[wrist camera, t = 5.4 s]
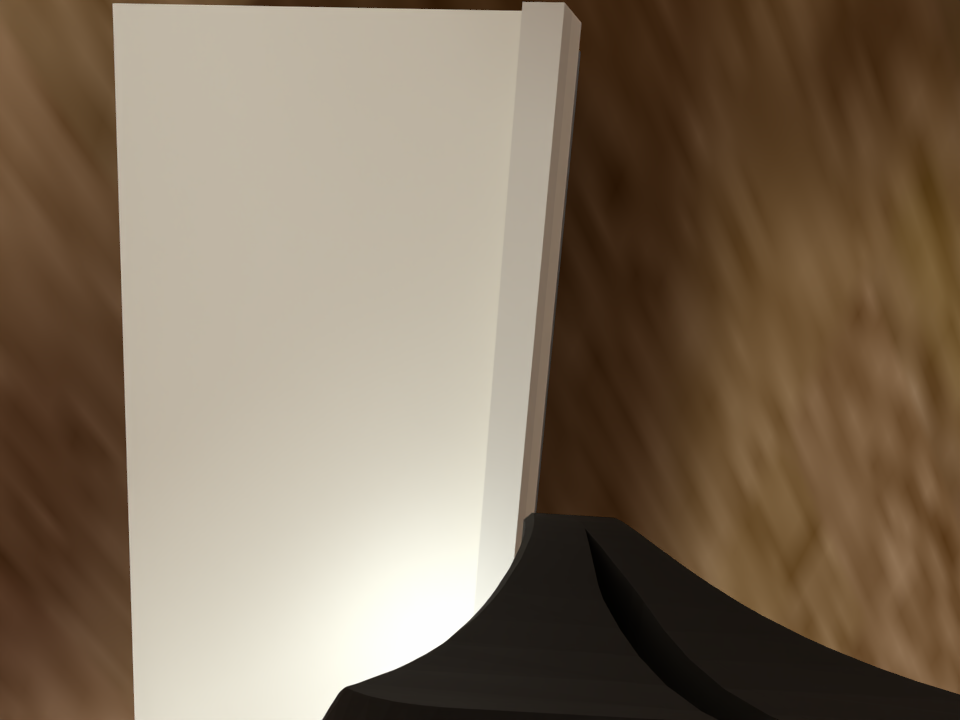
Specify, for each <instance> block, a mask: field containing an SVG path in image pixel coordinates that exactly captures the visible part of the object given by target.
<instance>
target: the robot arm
mask: <svg viewBox="0 0 960 720" xmlns="http://www.w3.org/2000/svg"><path fill="white" fill-rule="evenodd" d="M322 720H960V695H959V694H956V693H953V692H949V691H946V690H943V689H940V688H936V687H933V686H930V685H927V684H924V683H920V682H917V681H914V680H911V679H908V678H906V677H903V676H900V675H897V674H894V673H891V672H888V671H885V670H883V669H880V668H877V667H875V666H872V665H870V664H867V663H865V662H862V661H860V660H857V659H855V658H852V657H850V656H847V655H845V654H842V653H840V652H837V651H835V650H832V649H830V648H828V647H825V646H823V645H821V644H819V643H817V642H814V641H812V640H810V639H808V638H805V637H803V636H801V635H799V634H797V633H795V632H793V631H791V630H789V629H787V628H786V627H784V626H782V625H780V624H778V623H776V622H774V621H772V620H770V619H768V618H766V617H764V616H762V615H760V614H758V613H757V612H755V611H753V610H751V609H750V608H748V607H746V606H744V605H743V604H741V603H739V602H738V601H736V600H734V599H733V598H731V597H730V596H728V595H726V594H725V593H723V592H722V591H720V590H718V589H717V588H715V587H714V586H712V585H710V584H709V583H708V582H706V581H705V580H703V579H702V578H700V577H699V576H697V575H696V574H694V573H693V572H691V571H690V570H688V569H687V568H686V567H684V566H683V565H681V564H680V563H679V562H677V561H676V560H674V559H673V558H672V557H670V556H669V555H668V554H666V553H665V552H663V551H662V550H661V549H659V548H658V547H657V546H655V545H654V544H653V543H651V542H650V541H649V540H647V539H646V538H645V537H643V536H642V535H641V534H639V533H638V532H636V531H635V530H634V529H632V528H631V527H629V526H628V525H626V524H625V523H623V522H622V521H620V520H618V519H616V518H609V517H593V516H577V515H560V514H544V513H531V514H530V515H529V516H527V517H526V518H525V519H524V520H523V531H522V542H521V545H520V548H519V550H518V552H517V554H516V556H515V558H514V560H513V562H512V564H511V566H510V568H509V570H508V571H507V573H506V574H505V576H504V577H503V579H502V580H501V582H500V583H499V585H498V586H497V588H496V589H495V591H494V592H493V594H492V595H491V596H490V597H489V599H488V600H487V601H486V603H485V604H484V605H483V606H482V607H481V608H480V609H479V611H478V612H477V613H476V614H475V615H474V616H473V617H472V618H471V619H470V620H469V621H468V622H467V623H466V624H465V625H464V626H463V627H461V628H460V629H459V630H458V631H457V632H456V633H455V634H453V635H452V636H451V637H450V638H449V639H448V640H446V641H445V642H444V643H443V644H441V645H439V646H438V647H436V648H435V649H433V650H431V651H430V652H428V653H427V654H425V655H423V656H421V657H419V658H417V659H415V660H413V661H411V662H410V663H408V664H405V665H403V666H401V667H399V668H397V669H394V670H392V671H389V672H386V673H384V674H381V675H378V676H376V677H373V678H370V679H367V680H365V681H362V682H359V683H356V684H353V685H350V686H346V687H345V688H343V689H342V690H341V691H340V692H339V693H338V695H337V696H336V698H335V700H334V701H333V703H332V704H331V706H330V707H329V709H328V711H327V712H326V714H325V716H324V717H323V719H322Z"/></svg>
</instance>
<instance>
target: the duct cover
mask: <svg viewBox="0 0 960 720" xmlns="http://www.w3.org/2000/svg"><path fill="white" fill-rule="evenodd" d="M113 30H114V62H115V95H116V127H117V159H118V192H119V224H120V256H121V289H122V321H123V353H124V386H125V418H126V450H127V483H128V515H129V547H130V580H131V612H132V644H133V677H134V709H135V720H322V719H323V717H324V716H325V714H326V712H327V711H328V709H329V707H330V706H331V704H332V703H333V701H334V700H335V698H336V696H337V695H338V693H339V692H340V691H341V690H342V689H343V688H345V687H346V686H350V685H353V684H356V683H359V682H362V681H365V680H367V679H370V678H373V677H376V676H378V675H381V674H384V673H386V672H389V671H392V670H394V669H397V668H399V667H401V666H403V665H405V664H408V663H410V662H411V661H413V660H415V659H417V658H419V657H421V656H423V655H425V654H427V653H428V652H430V651H431V650H433V649H435V648H436V647H438V646H439V645H441V644H443V643H444V642H445V641H446V640H448V639H449V638H450V637H451V636H452V635H453V634H455V633H456V632H457V631H458V630H459V629H460V628H461V627H463V626H464V625H465V624H466V623H467V622H468V621H469V620H470V619H471V618H472V617H473V616H474V615H475V614H476V613H477V612H478V611H479V609H480V608H481V607H482V606H483V605H484V604H485V603H486V601H487V600H488V599H489V597H490V596H491V595H492V594H493V592H494V591H495V589H496V588H497V586H498V585H499V583H500V582H501V580H502V579H503V577H504V576H505V574H506V573H507V571H508V570H509V568H510V566H511V564H512V562H513V560H514V558H515V556H516V554H517V552H518V550H519V548H520V545H521V542H522V531H523V520H524V519H525V518H526V517H527V516H529V515H530V514H531V513H534V511H535V501H536V491H537V480H538V470H539V459H540V449H541V439H542V428H543V418H544V407H545V397H546V387H547V376H548V366H549V355H550V345H551V335H552V324H553V314H554V303H555V293H556V283H557V272H558V262H559V251H560V241H561V231H562V220H563V210H564V199H565V189H566V178H567V168H568V158H569V147H570V137H571V126H572V116H573V106H574V95H575V85H576V74H577V64H578V54H579V43H580V33H581V22H580V21H579V19H578V18H577V17H576V16H575V14H574V13H573V12H572V11H571V10H570V8H569V7H568V6H567V5H566V3H564V2H523V3H522V11H500V10H446V9H392V8H337V7H283V6H229V5H175V4H121V3H113Z"/></svg>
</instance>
